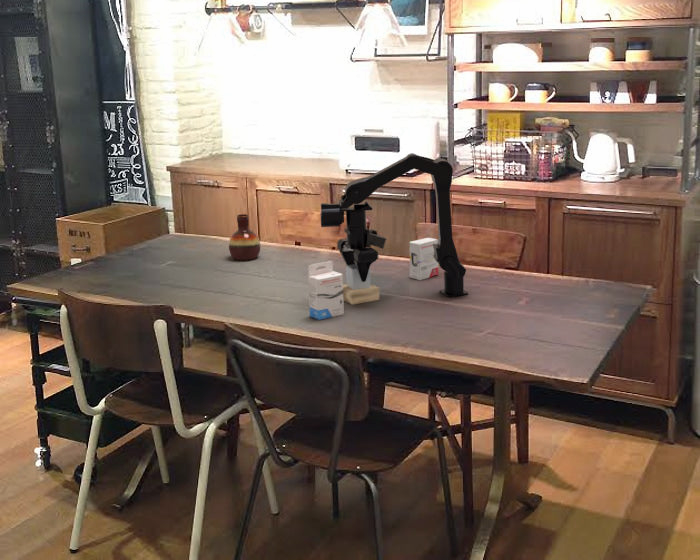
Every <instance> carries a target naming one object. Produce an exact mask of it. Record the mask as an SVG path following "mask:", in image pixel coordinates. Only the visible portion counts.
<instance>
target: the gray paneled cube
mask: <svg viewBox="0 0 700 560" xmlns="http://www.w3.org/2000/svg"><path fill="white" fill-rule="evenodd" d="M345 282H346V283H345V284H346V285H347V286H348V287H350V288H351V289H353V290H355V289H362V288H370V287H371V284H372V282H371V267H370V268H369V271H368V275H367V278H366V281H365V282H362V281H361V278H360V276H359V273H358V270H357V267H356V265H355V264H354V265H345Z"/></svg>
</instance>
